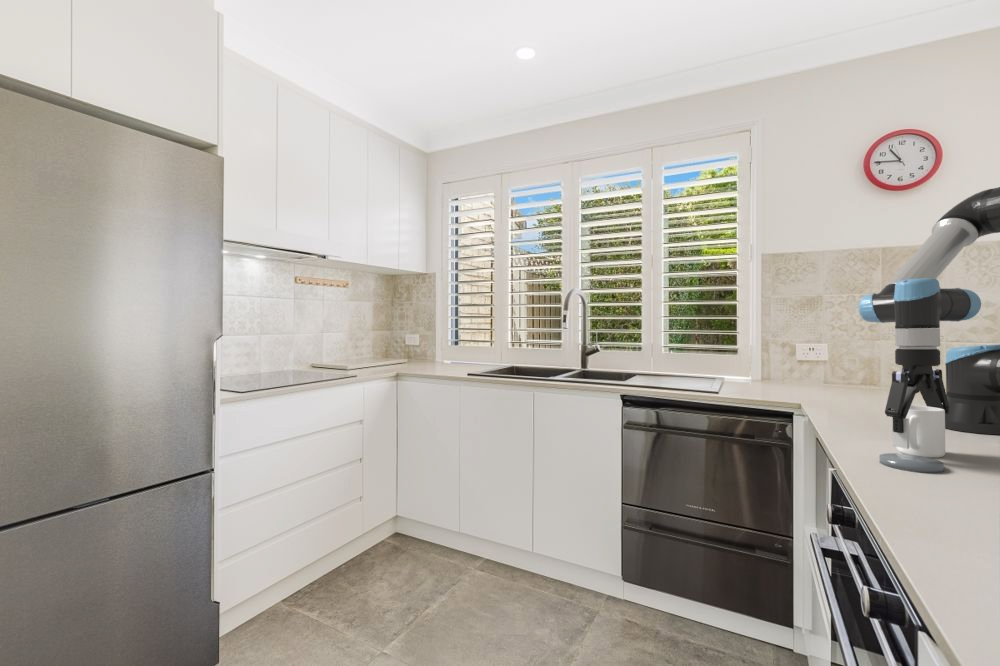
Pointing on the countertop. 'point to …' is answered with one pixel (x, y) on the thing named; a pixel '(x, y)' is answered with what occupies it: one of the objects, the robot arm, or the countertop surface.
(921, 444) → the mug
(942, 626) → the countertop surface
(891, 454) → the slate plate
